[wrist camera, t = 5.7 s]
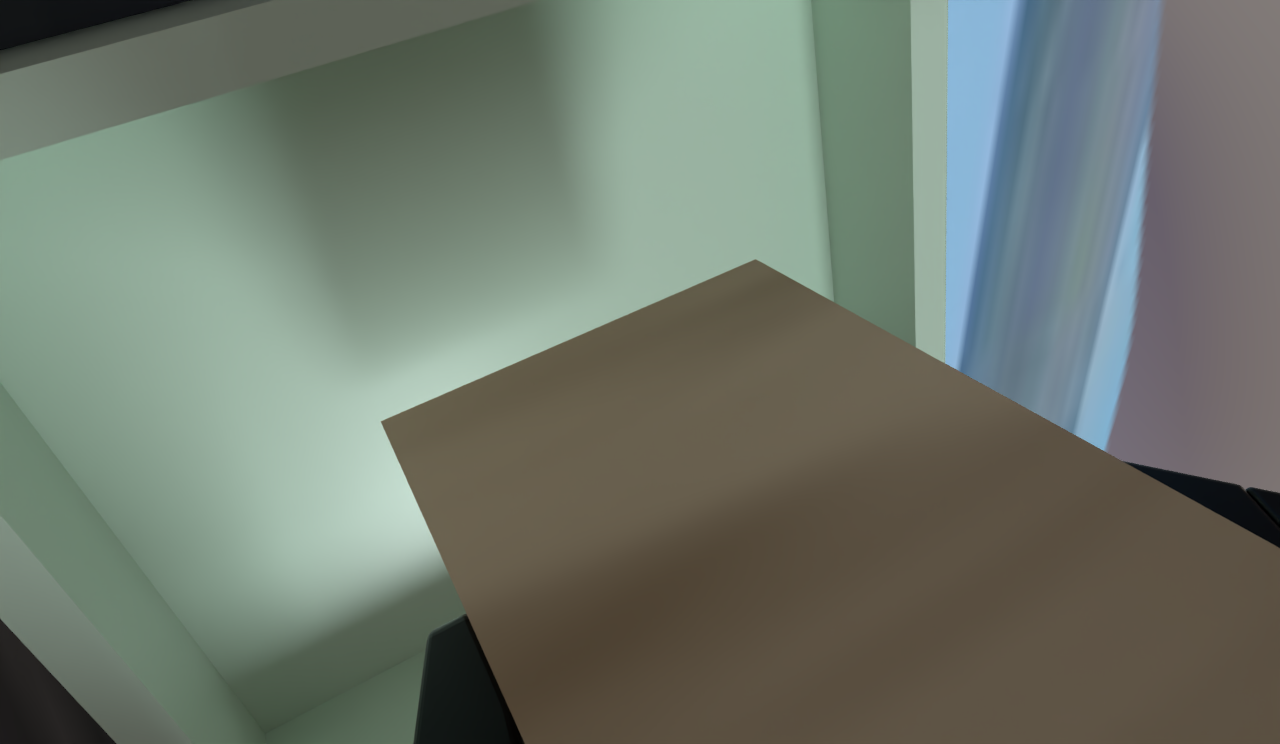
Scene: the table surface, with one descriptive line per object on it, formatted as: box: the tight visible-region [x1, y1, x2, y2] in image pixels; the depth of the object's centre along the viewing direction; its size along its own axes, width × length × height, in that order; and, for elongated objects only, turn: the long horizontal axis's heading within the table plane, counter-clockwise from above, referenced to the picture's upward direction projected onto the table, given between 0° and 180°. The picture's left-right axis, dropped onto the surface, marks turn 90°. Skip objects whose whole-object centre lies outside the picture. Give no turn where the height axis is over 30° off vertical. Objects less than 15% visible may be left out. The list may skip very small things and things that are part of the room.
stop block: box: [381, 259, 1280, 744], centre depth 7 cm, size 4×4×6 cm
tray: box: [0, 0, 948, 744], centre depth 11 cm, size 10×12×2 cm
